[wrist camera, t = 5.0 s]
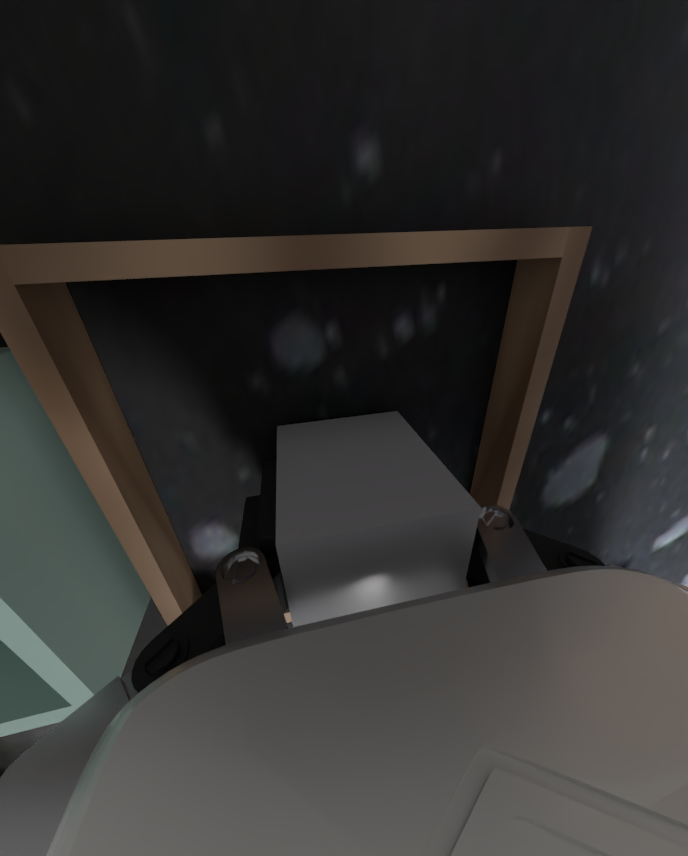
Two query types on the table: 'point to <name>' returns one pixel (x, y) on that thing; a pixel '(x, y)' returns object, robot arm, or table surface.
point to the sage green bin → (55, 572)
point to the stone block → (366, 517)
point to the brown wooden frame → (91, 261)
